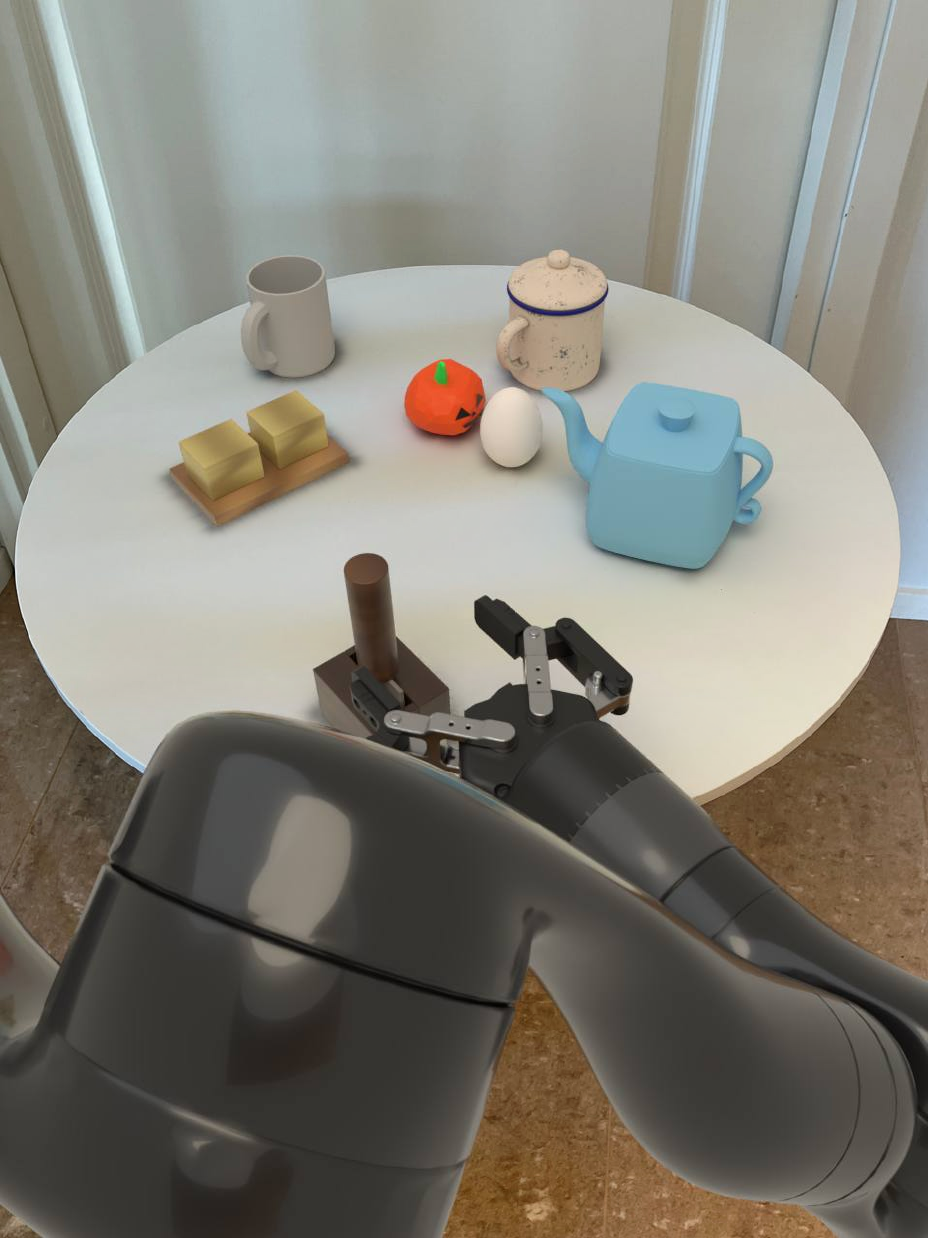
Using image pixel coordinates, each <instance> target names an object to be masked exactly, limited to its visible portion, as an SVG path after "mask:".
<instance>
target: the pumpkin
mask: <svg viewBox="0 0 928 1238" xmlns="http://www.w3.org/2000/svg"><path fill="white" fill-rule="evenodd" d="M486 402H487V400H486V394H485V389H484V385H483V379H482V378H481V377H480V375H478V373H477V372H476V371H474V370H473V369H471V367H468V366H466V365H464V364H462V363H460V362H457V361H456V360H454V359H451V358H444V359H443V358H441V359H438V360H436V361H434V362H432V363H430V364H428V365H426V366H425V367H423V368H422V369H420V370H419V371H418V372H417V373H416V374H415V375H413V377H412V379H411V381H410V382H409V384H408V386H407V387H406V390H405V394H404V404H403V406H404V411H405V415H406V417H407V418H408V420H409V421H410V422H411V423H412V424H413V425H414V426H415V427H418V428H419V429H421V430H424V431H426V432H429V433H432V434H435V435H436V434H438V435H442V436H457V435H459V434H463V433H465V432H467V431H468V430H469V429H470V428H471V427H472V426H474V424H476V423H477V422H478V421H479V420H480V418H482V414H483V412H484V410H485V405H486Z"/></svg>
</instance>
